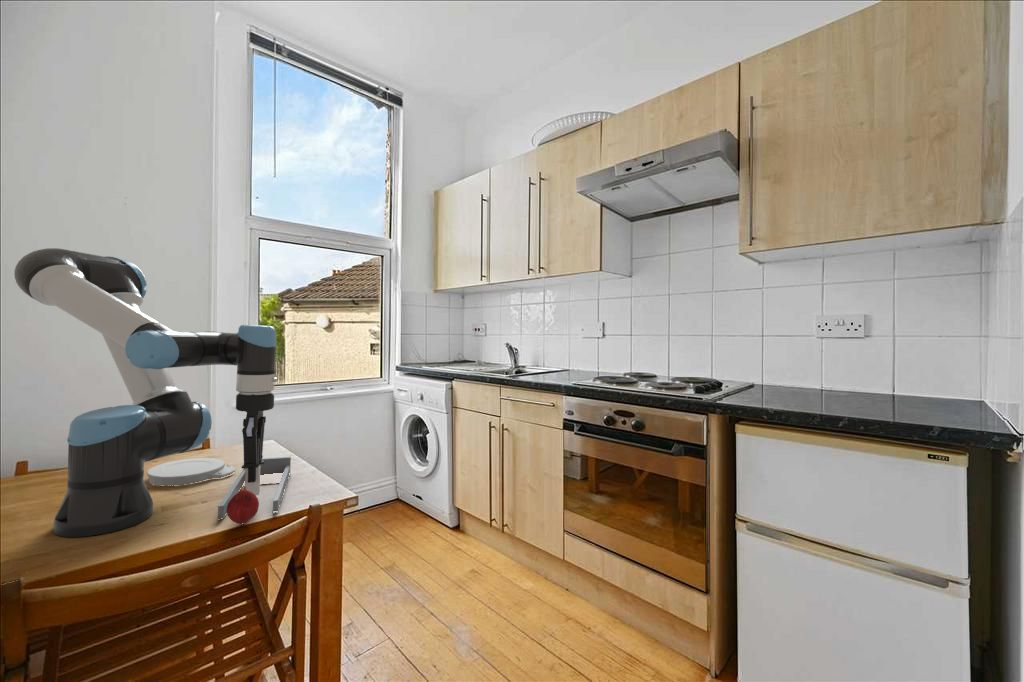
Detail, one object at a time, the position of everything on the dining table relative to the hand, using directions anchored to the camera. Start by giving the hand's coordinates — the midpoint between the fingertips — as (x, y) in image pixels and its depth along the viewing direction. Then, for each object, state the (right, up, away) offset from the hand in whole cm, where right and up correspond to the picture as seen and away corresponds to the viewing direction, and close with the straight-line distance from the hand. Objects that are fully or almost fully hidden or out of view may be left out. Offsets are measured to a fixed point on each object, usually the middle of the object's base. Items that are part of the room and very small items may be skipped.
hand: (252, 494), depth 99 cm
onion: (+3, -4, -8) cm, 9 cm away
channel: (-4, -3, +9) cm, 10 cm away
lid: (-29, -3, +20) cm, 35 cm away
